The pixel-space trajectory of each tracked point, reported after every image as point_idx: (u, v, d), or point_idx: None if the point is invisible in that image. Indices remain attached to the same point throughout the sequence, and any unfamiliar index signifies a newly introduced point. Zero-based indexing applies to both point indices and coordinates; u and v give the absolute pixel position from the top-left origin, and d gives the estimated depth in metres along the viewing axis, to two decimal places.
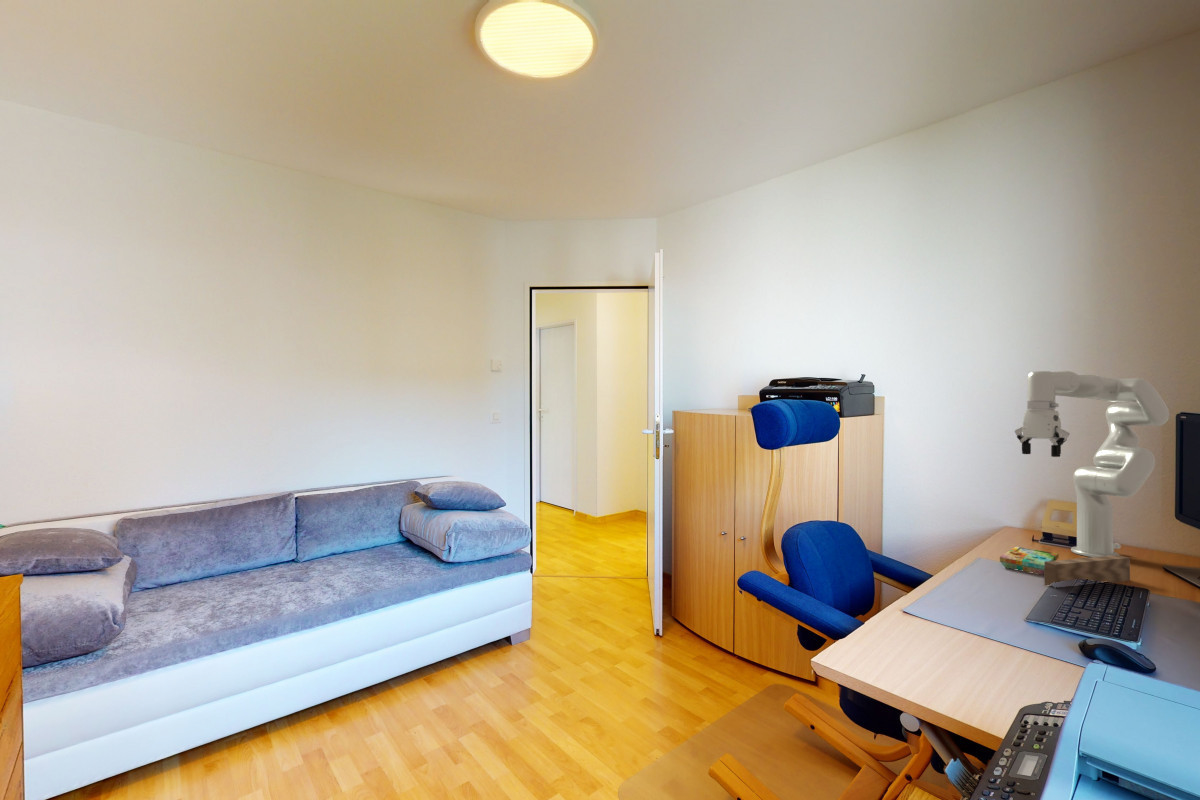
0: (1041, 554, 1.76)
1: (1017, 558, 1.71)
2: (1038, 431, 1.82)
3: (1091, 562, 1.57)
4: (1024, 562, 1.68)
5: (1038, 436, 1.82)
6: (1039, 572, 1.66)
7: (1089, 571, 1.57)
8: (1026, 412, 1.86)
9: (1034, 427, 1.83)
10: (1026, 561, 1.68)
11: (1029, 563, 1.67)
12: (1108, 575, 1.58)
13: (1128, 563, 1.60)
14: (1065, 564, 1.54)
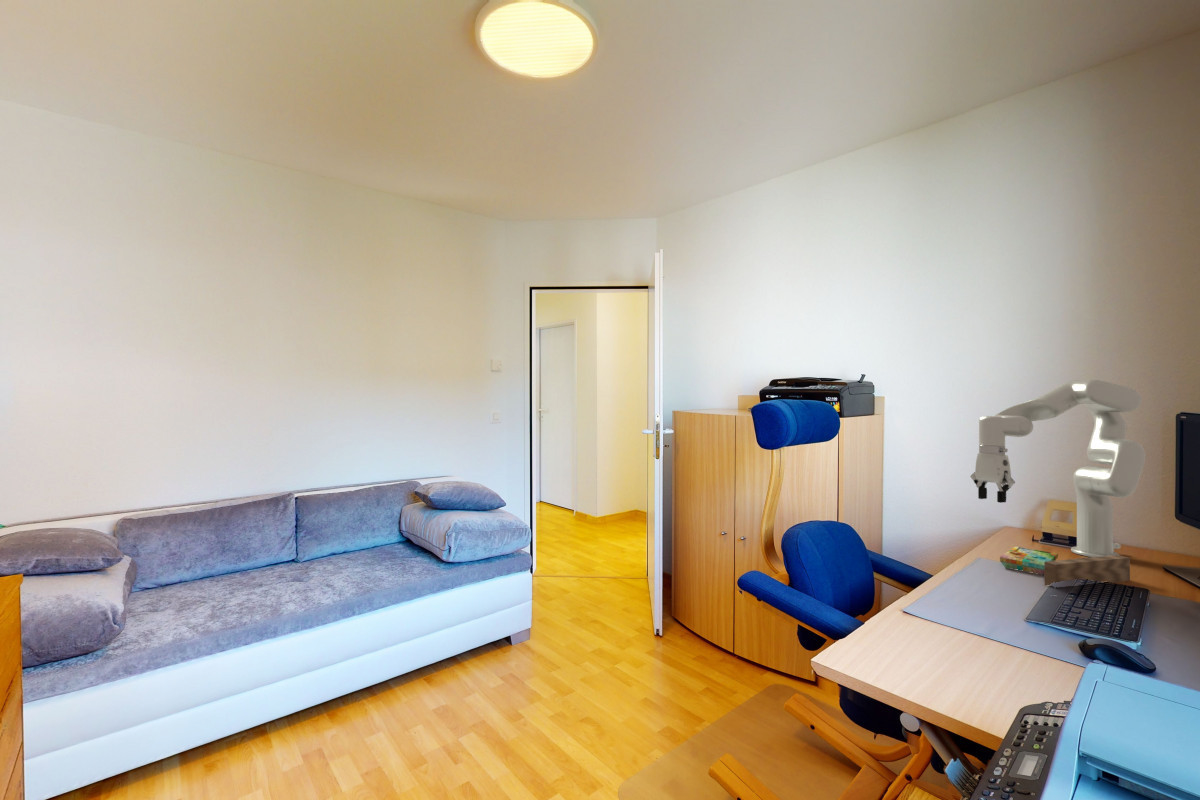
0: (1041, 554, 1.76)
1: (1017, 558, 1.71)
2: (989, 474, 1.86)
3: (1091, 562, 1.57)
4: (1024, 562, 1.68)
5: (989, 480, 1.87)
6: (1039, 572, 1.66)
7: (1089, 571, 1.57)
8: (978, 455, 1.91)
9: (985, 471, 1.88)
10: (1026, 561, 1.68)
11: (1029, 563, 1.67)
12: (1108, 575, 1.58)
13: (1128, 563, 1.60)
14: (1065, 564, 1.54)
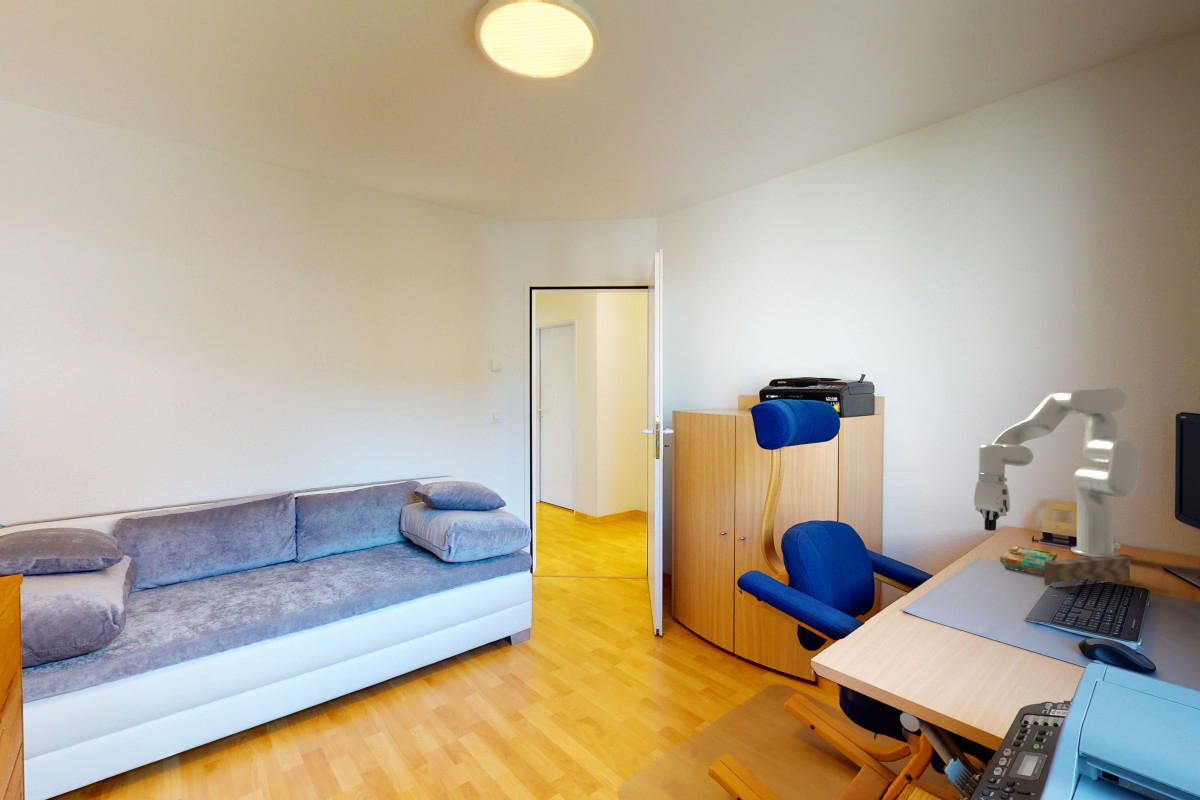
0: (1040, 554, 1.76)
1: (1017, 558, 1.71)
2: (988, 503, 1.86)
3: (1091, 562, 1.57)
4: (1024, 562, 1.68)
5: (988, 508, 1.87)
6: (1039, 572, 1.66)
7: (1089, 571, 1.57)
8: (977, 483, 1.91)
9: (984, 499, 1.88)
10: (1026, 561, 1.68)
11: (1029, 563, 1.67)
12: (1108, 575, 1.58)
13: (1128, 563, 1.60)
14: (1065, 564, 1.54)
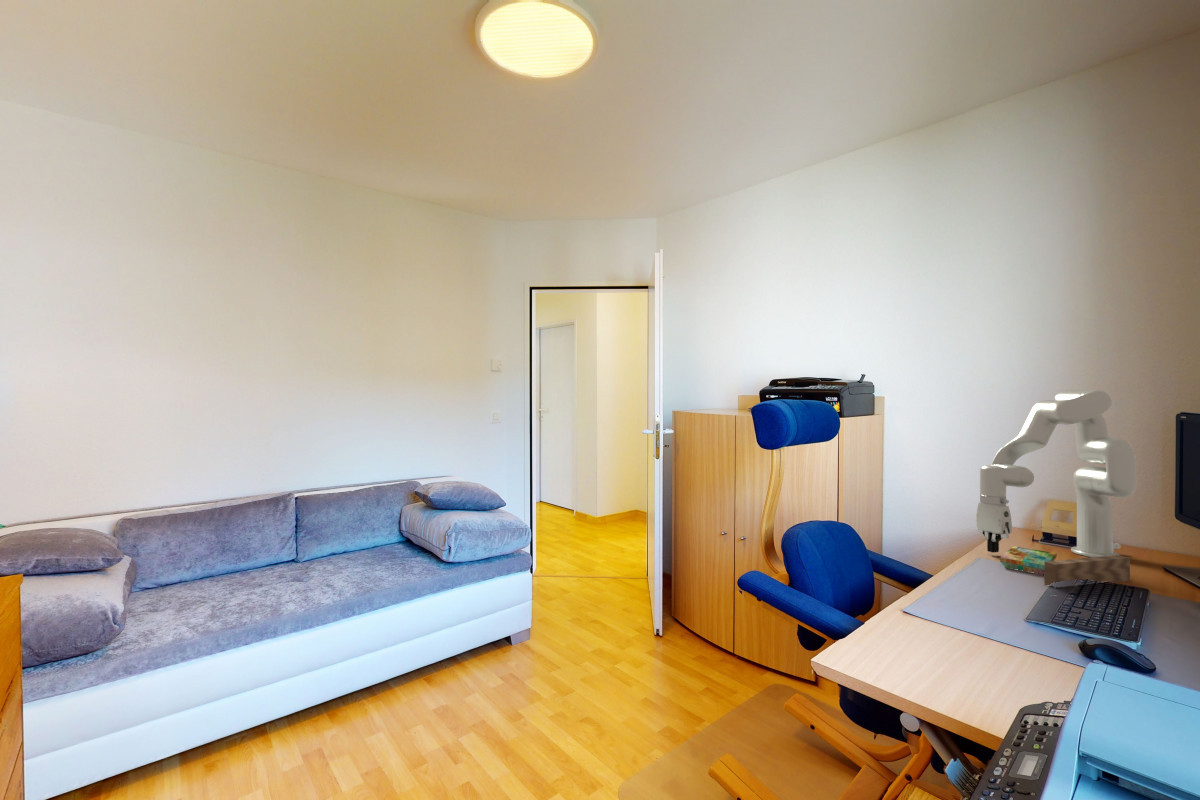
0: (1040, 554, 1.76)
1: (1017, 558, 1.71)
2: (990, 525, 1.86)
3: (1091, 562, 1.57)
4: (1024, 562, 1.68)
5: (990, 530, 1.86)
6: (1040, 572, 1.66)
7: (1089, 571, 1.57)
8: (979, 504, 1.90)
9: (986, 521, 1.87)
10: (1027, 561, 1.68)
11: (1030, 563, 1.67)
12: (1108, 575, 1.58)
13: (1128, 563, 1.60)
14: (1065, 564, 1.54)
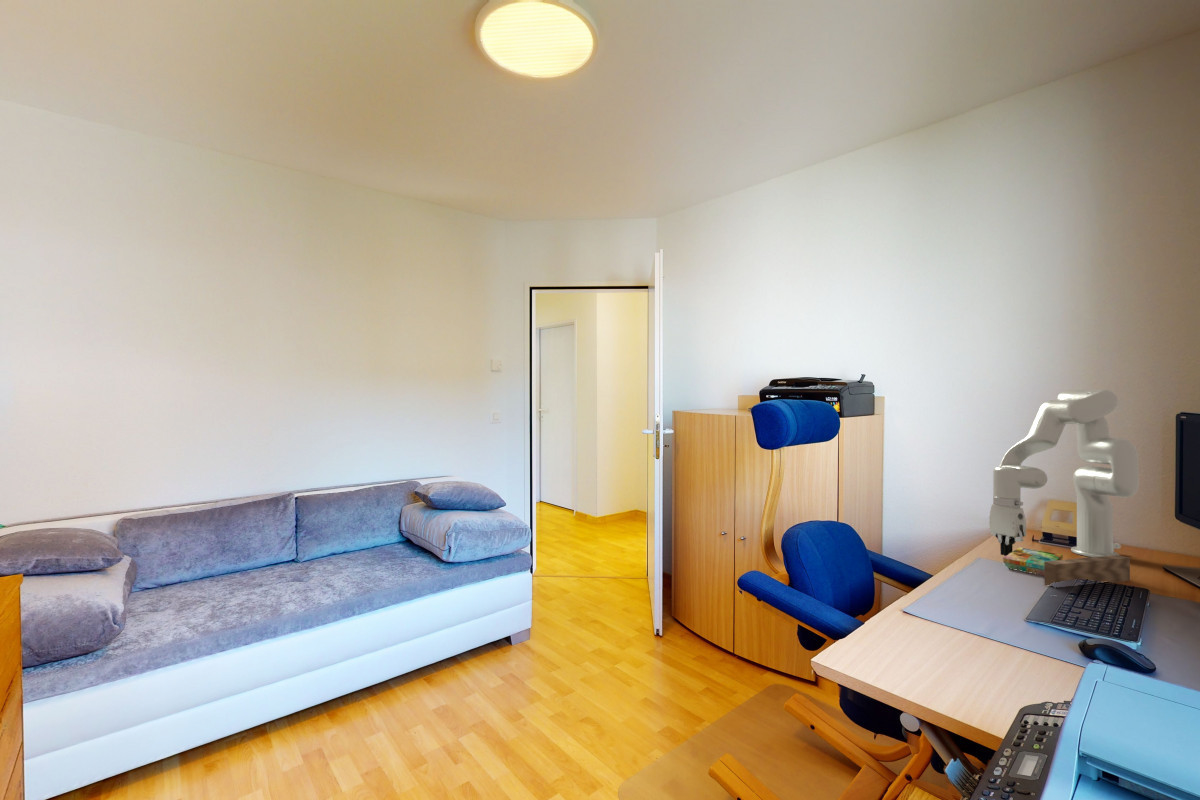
0: (1045, 555, 1.75)
1: (1021, 559, 1.70)
2: (1004, 527, 1.81)
3: (1091, 562, 1.57)
4: (1028, 563, 1.67)
5: (1003, 533, 1.81)
6: (1043, 573, 1.65)
7: (1089, 571, 1.57)
8: (992, 506, 1.85)
9: (999, 523, 1.82)
10: (1030, 562, 1.67)
11: (1033, 564, 1.66)
12: (1108, 575, 1.58)
13: (1128, 563, 1.60)
14: (1065, 564, 1.54)
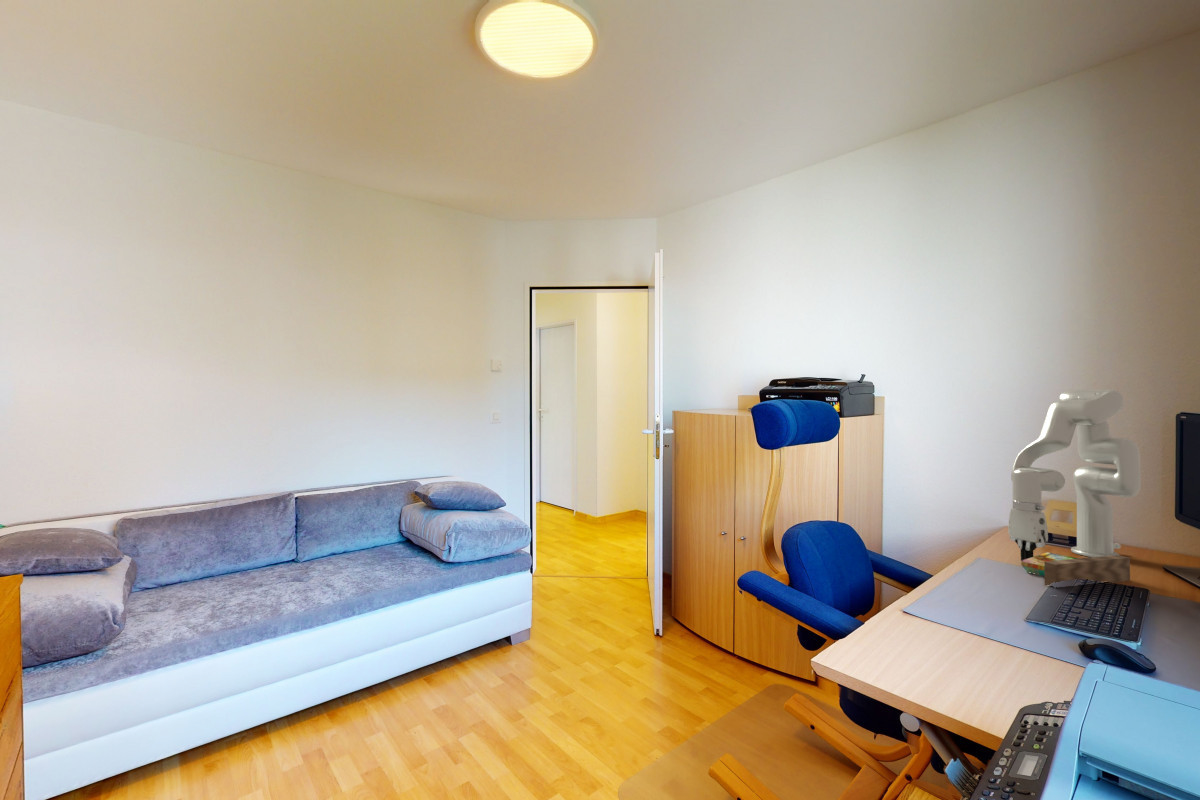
0: None
1: (1040, 563, 1.66)
2: (1024, 533, 1.75)
3: (1091, 562, 1.57)
4: None
5: (1024, 538, 1.75)
6: None
7: (1089, 571, 1.57)
8: (1011, 511, 1.79)
9: (1020, 528, 1.76)
10: None
11: None
12: (1108, 575, 1.58)
13: (1128, 563, 1.60)
14: (1065, 564, 1.54)
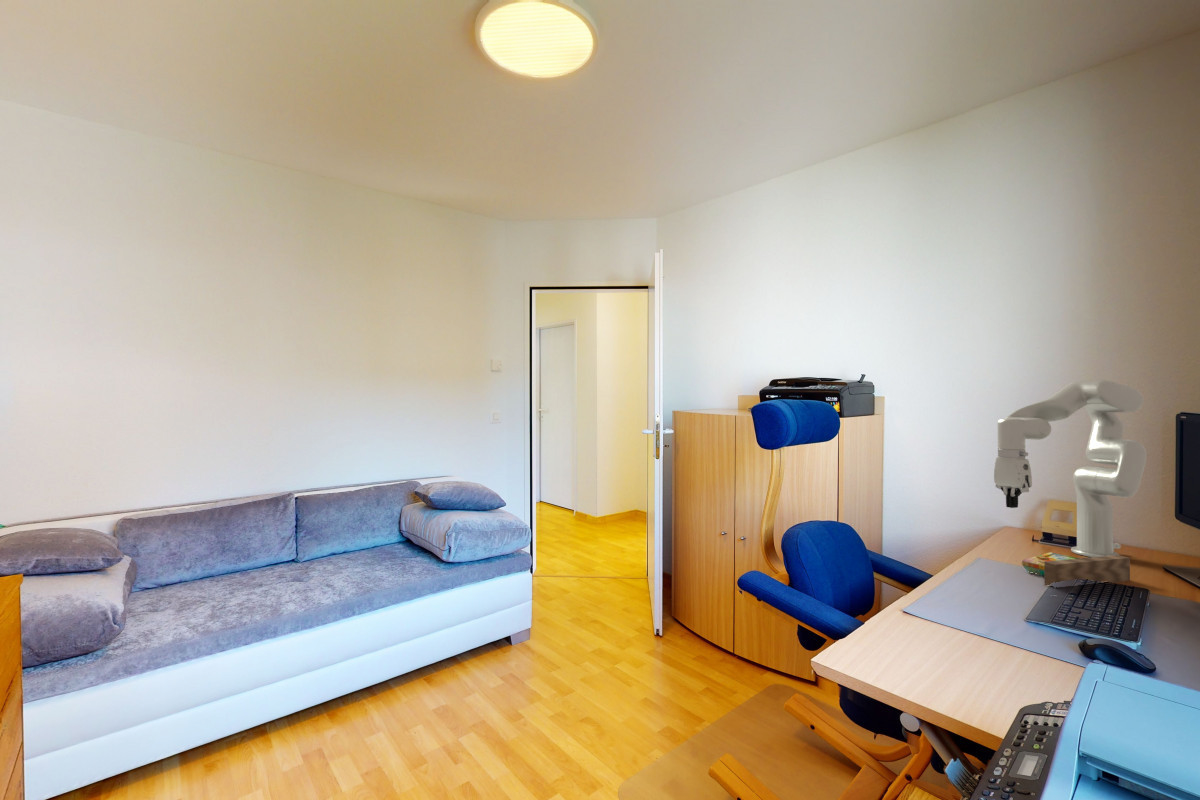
0: None
1: (1040, 563, 1.66)
2: (1009, 479, 1.80)
3: (1091, 562, 1.57)
4: None
5: (1009, 485, 1.80)
6: None
7: (1089, 571, 1.57)
8: (997, 459, 1.84)
9: (1005, 475, 1.81)
10: None
11: None
12: (1108, 575, 1.58)
13: (1128, 563, 1.60)
14: (1065, 564, 1.54)
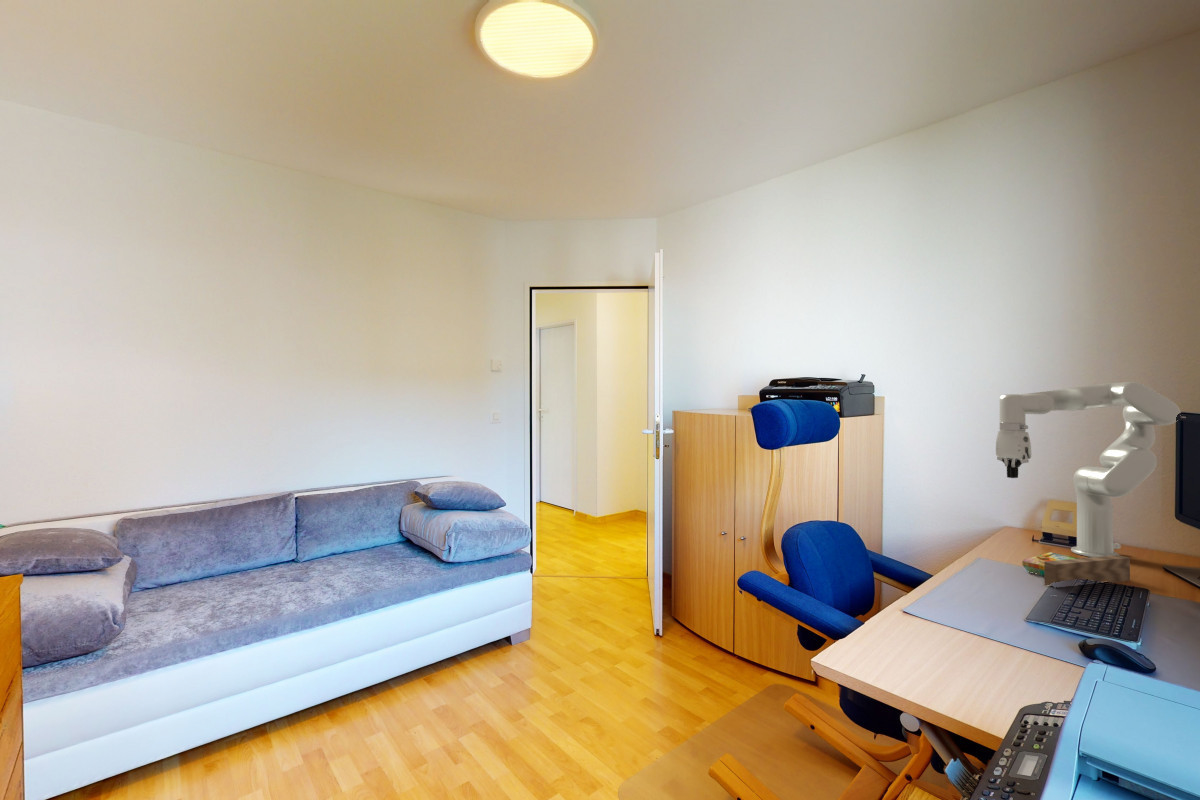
0: None
1: (1041, 563, 1.66)
2: (1010, 451, 1.91)
3: (1091, 562, 1.57)
4: None
5: (1009, 456, 1.91)
6: None
7: (1089, 571, 1.57)
8: (998, 433, 1.95)
9: (1006, 447, 1.92)
10: None
11: None
12: (1108, 575, 1.58)
13: (1128, 563, 1.60)
14: (1065, 564, 1.54)
